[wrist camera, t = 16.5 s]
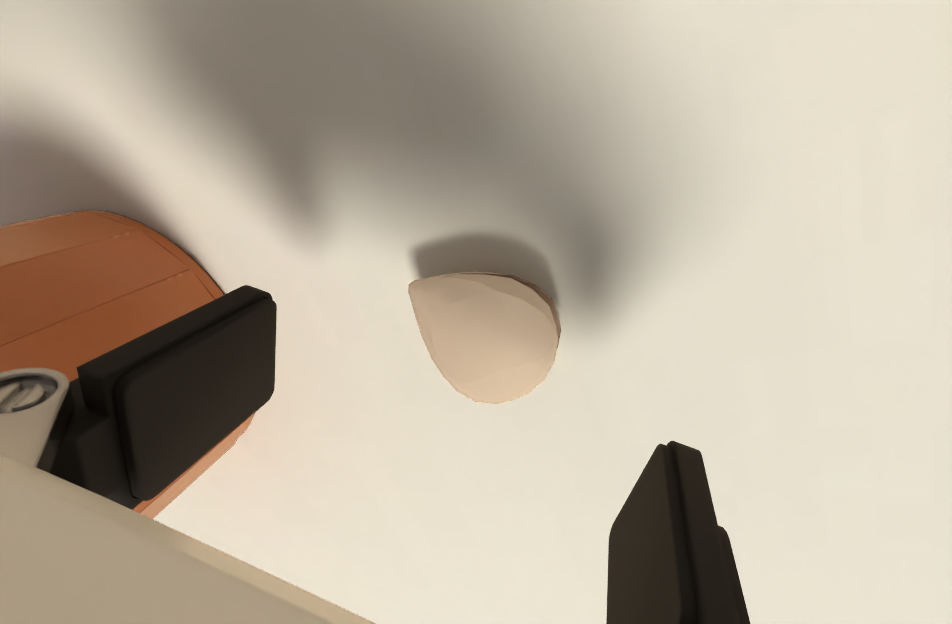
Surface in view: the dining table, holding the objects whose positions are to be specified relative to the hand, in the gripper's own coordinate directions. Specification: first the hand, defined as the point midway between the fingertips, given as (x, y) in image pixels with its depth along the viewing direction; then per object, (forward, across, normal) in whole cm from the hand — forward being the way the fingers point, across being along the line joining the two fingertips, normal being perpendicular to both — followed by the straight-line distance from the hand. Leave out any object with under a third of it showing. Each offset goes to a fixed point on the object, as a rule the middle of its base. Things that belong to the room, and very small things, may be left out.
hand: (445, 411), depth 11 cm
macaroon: (+5, 0, 0) cm, 5 cm away
